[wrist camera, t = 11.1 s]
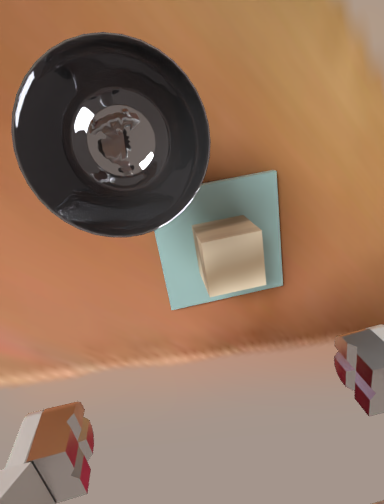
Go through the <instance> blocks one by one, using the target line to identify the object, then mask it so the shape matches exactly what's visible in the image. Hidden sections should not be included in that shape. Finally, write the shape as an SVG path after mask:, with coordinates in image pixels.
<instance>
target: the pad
mask: <svg viewBox="0 0 384 504" xmlns="http://www.w3.org/2000/svg"><path fill="white" fill-rule="evenodd" d="M240 215H244V216H245V217H246V218H247V219H249V220H250V221H251V222H252V223H254V224H255V225H256V226H257V227H258V228H260V229H261V230H262V238H263V251H264V263H265V276H266V285H264V286H259V287H255V288H250V289H246V290H241V291H237V292H232V293H228V294H223V295H219V296H214V297H209V294H208V292H207V289H206V287H205V285H204V282H203V280H202V277H201V275H200V272H199V267H198V261H197V255H196V249H195V243H194V237H193V231H192V225H195V224H200V223H205V222H210V221H215V220H220V219H225V218H230V217H235V216H240ZM154 231H155V236H156V241H157V245H158V250H159V254H160V259H161V264H162V268H163V273H164V277H165V282H166V287H167V291H168V296H169V300H170V305H171V310H175V309H180V308H184V307H189V306H193V305H198V304H202V303H207V302H211V301H215V300H220V299H224V298H229V297H233V296H238V295H242V294H247V293H251V292H256V291H260V290H265V289H269V288H274V287H278V286H283V276H282V259H281V241H280V224H279V206H278V189H277V171H275V170H270V171H265V172H259V173H254V174H249V175H244V176H238V177H233V178H228V179H223V180H218V181H212V182H207V183H202V184H201V187H200V189H199V191H198V192H197V194H196V195H195V197H194V199H193V200H192V202H191V203H190V204H189V205H188V206H187V207H186V209H185V210H184V211H183V212H182V213H181V214H180V215H178V216H177V217H176V218H175V219H173V220H172V221H171V222H170V223H168V224H166V225H164V226H162V227H161V228H159V229H157V230H154Z"/></svg>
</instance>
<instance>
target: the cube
mask: <svg viewBox="0 0 384 504" xmlns="http://www.w3.org/2000/svg"><path fill="white" fill-rule="evenodd" d="M192 231H193V237H194V243H195V249H196V255H197V261H198V267H199V272H200V275H201V277H202V280H203V282H204V285H205V287H206V289H207V292H208V294H209V297H214V296H219V295H223V294H228V293H232V292H237V291H241V290H246V289H250V288H255V287H259V286H264V285H266V276H265V263H264V251H263V238H262V230H261V229H260V228H258V227H257V226H256V225H255V224H254V223H252V222H251V221H250V220H249V219H247V218H246V217H245V216H244V215H240V216H235V217H230V218H225V219H220V220H215V221H210V222H205V223H200V224H195V225H192Z"/></svg>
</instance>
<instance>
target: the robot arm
mask: <svg viewBox="0 0 384 504" xmlns="http://www.w3.org/2000/svg"><path fill="white" fill-rule="evenodd" d="M335 347H336V348H337V350H338V352H337V354H336V355H335V356H334V362H335V363H334V364H335V368H336V372H337V374H338V376H339V378H340V380H341V381H342V383H343V384H344V385H345V386H346V387H347V388H350V389H352V390H354V391H355V399H356V401H357V402H358V403H359V404H360V406H361V407H362V408H363V410H364V411H365V412H366V413H367V415H368V416H373V415H377V414H381V413H384V325H382V324H380V325H376V326H373V327H369V328H366V329H361V330H358V331H354V332H350V333H346V334H342V335H339V336H336V338H335ZM84 411H85V409H84V407H83V405H82V404H81V402H74V403H70V404H65V405H61V406H57V407H52V408H48V409H45V410H40V411H36V412H32V413H28V414H27V415H26V416H25V417H24V419H23V422H22V424H21V427H20V430H19V432H18V435H17V437H16V441H15V443H14V446H13V448H12V451H11V453H10V456H9V459H8V461H7V464H6V466H5V469H2V470H0V504H56V503H59V502H62V501H66V500H69V499H72V498H76V497H79V496H82V495H85V494H87V493H88V486H89V478H90V472H91V469H90V466H89V464H88V462H87V461H88V460H89V459H90V457H91V456H92V454H93V447H94V434H93V429H92V425H91V423H90V420H88V419H87V418H85V417H83V416H84ZM372 504H384V500H383V501H379V502H376V503H372Z"/></svg>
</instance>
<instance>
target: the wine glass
mask: <svg viewBox="0 0 384 504" xmlns="http://www.w3.org/2000/svg"><path fill="white" fill-rule="evenodd" d="M11 133H12V140H13V147H14V152H15V155H16V158H17V162H18V165H19V168H20V170H21V172H22V174H23V176H24V178H25V180H26V182H27V184H28V185H29V187H30V188H31V189H32V191H33V192H34V194H35V195H36V196H37V198H38V199H39V200H40V201H41V202H42V203H43V204H44V205H45V206H46V207H47V208H48V209H49V210H50V211H51V212H52V213H54V214H55V215H56V216H58V217H59V218H60V219H62V220H63V221H64V222H66V223H68V224H70V225H72V226H74V227H76V228H78V229H80V230H83V231H86V232H89V233H92V234H95V235H100V236H106V237H131V236H138V235H143V234H146V233H149V232H151V231H154V230H157V229H159V228H161V227H162V226H164V225H166V224H168V223H170V222H171V221H172V220H173V219H175V218H176V217H177V216H178V215H180V214H181V213H182V212H183V211H184V210H185V209H186V207H187V206H188V205H189V204H190V203H191V202H192V200H193V199H194V197H195V195H196V194H197V192H198V191H199V189H200V187H201V184H202V182H203V180H204V177H205V175H206V171H207V166H208V162H209V156H210V132H209V124H208V120H207V116H206V112H205V108H204V106H203V103H202V101H201V99H200V97H199V94H198V92H197V90H196V88H195V87H194V85H193V84H192V82H191V81H190V79H189V78H188V76H187V75H186V74H185V73H184V72H183V70H182V69H181V68H180V67H179V66H178V65H177V64H176V63H175V62H174V61H173V60H172V59H171V58H169V57H168V56H167V55H166V54H164V53H163V52H162V51H160V50H159V49H157V48H156V47H154V46H152V45H150V44H148V43H146V42H144V41H142V40H140V39H136V38H133V37H130V36H126V35H123V34H115V33H106V32H100V33H90V34H83V35H79V36H76V37H73V38H70V39H67V40H65V41H63V42H61V43H59V44H58V45H56V46H54V47H52V48H51V49H49V50H48V51H47V52H46V53H45V54H43V55H42V56H41V57H40V58H39V59H38V60H37V61H36V62H35V63H34V64H33V66H32V67H31V68H30V70H29V71H28V73H27V74H26V75H25V77H24V79H23V81H22V83H21V85H20V88H19V90H18V92H17V94H16V98H15V103H14V107H13V111H12V129H11Z"/></svg>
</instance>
